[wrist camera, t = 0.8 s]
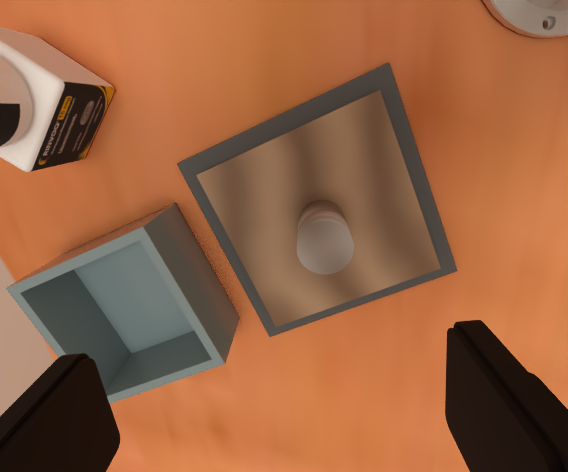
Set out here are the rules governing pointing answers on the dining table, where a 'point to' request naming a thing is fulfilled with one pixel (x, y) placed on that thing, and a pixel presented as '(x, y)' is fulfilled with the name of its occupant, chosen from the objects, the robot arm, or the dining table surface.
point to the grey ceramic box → (134, 305)
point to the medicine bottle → (46, 103)
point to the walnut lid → (323, 212)
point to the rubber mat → (298, 117)
